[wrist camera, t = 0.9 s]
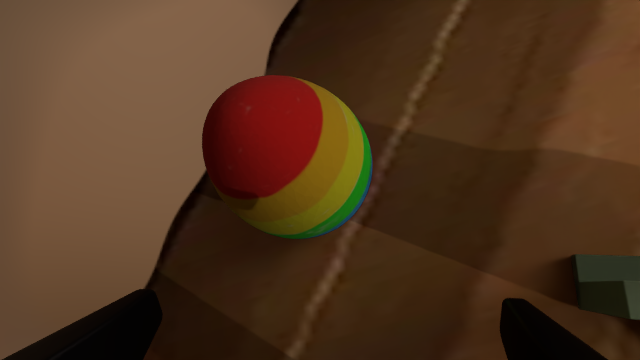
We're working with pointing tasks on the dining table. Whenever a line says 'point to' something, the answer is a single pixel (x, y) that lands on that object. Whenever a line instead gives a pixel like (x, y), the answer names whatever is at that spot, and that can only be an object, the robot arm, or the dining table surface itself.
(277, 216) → the decorative egg
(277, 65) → the dining table surface
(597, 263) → the back wall
